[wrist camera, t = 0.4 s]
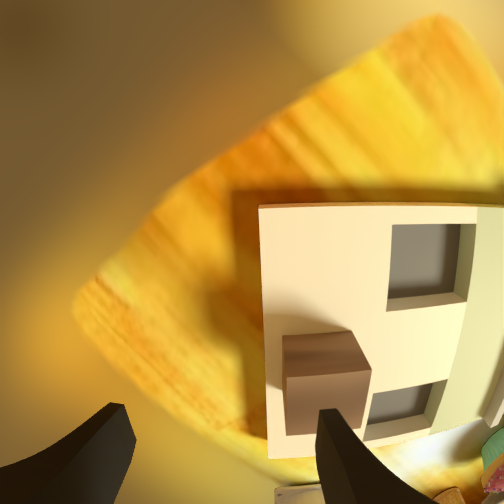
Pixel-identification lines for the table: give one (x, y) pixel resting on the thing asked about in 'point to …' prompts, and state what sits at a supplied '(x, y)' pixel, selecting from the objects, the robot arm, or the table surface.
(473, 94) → the table surface
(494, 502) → the mate gourd
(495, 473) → the cupcake
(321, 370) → the walnut block
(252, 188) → the table surface
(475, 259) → the board
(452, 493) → the sprinkles bottle
